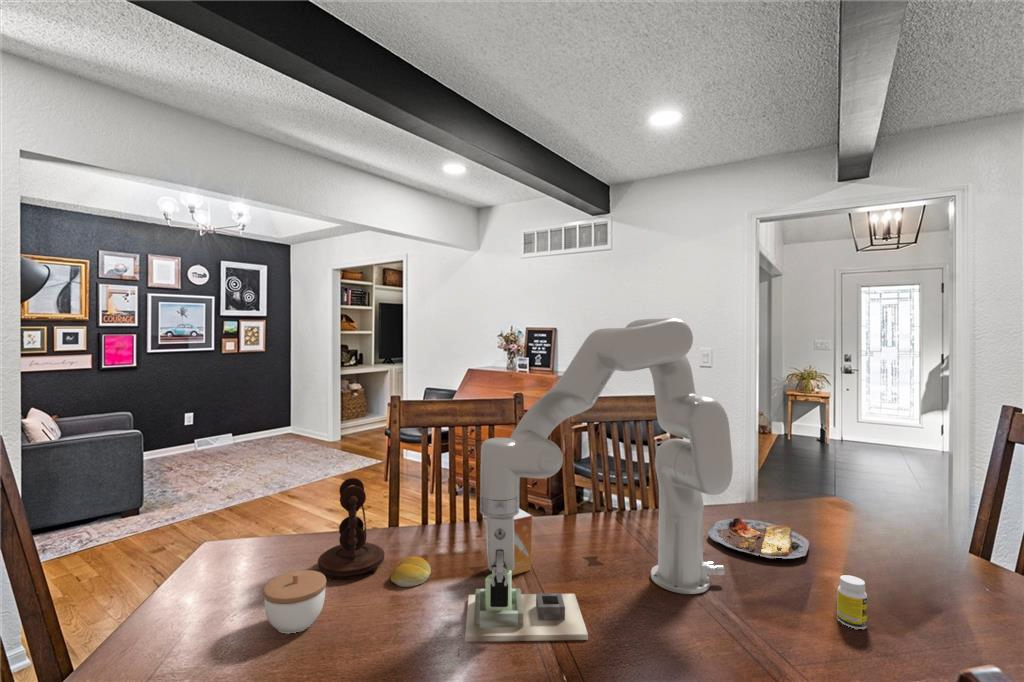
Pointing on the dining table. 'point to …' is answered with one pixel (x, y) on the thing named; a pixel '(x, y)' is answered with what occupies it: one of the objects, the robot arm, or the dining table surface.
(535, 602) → the holder board
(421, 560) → the bread roll
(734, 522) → the food plate
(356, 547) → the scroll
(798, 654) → the dining table surface
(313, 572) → the lidded jar
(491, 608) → the candle
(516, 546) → the small box
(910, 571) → the dining table surface
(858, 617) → the supplement bottle
